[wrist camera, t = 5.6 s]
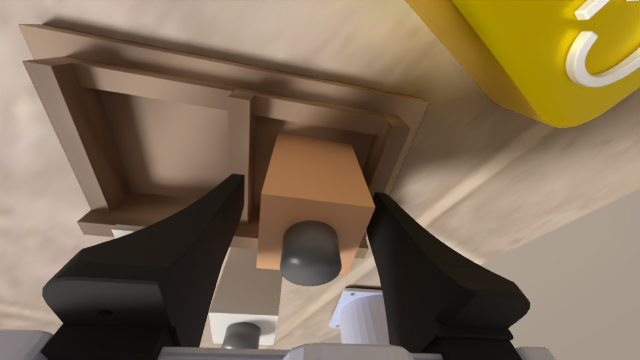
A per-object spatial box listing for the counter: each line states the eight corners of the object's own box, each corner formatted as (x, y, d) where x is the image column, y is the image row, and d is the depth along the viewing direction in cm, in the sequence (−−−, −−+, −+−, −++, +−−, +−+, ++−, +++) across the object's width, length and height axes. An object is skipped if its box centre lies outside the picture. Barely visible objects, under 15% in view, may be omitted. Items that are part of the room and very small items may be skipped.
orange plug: (351, 144, 14) (385, 233, 8) (335, 200, 17) (351, 302, 10) (278, 132, 14) (254, 219, 7) (272, 192, 16) (250, 296, 10)
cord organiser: (422, 98, 14) (463, 124, 10) (367, 228, 20) (381, 274, 16) (39, 24, 11) (-93, 22, 7) (109, 201, 17) (55, 249, 13)
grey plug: (285, 246, 21) (275, 339, 14) (280, 276, 23) (270, 367, 17) (233, 241, 20) (200, 336, 14) (234, 272, 22) (206, 365, 16)
